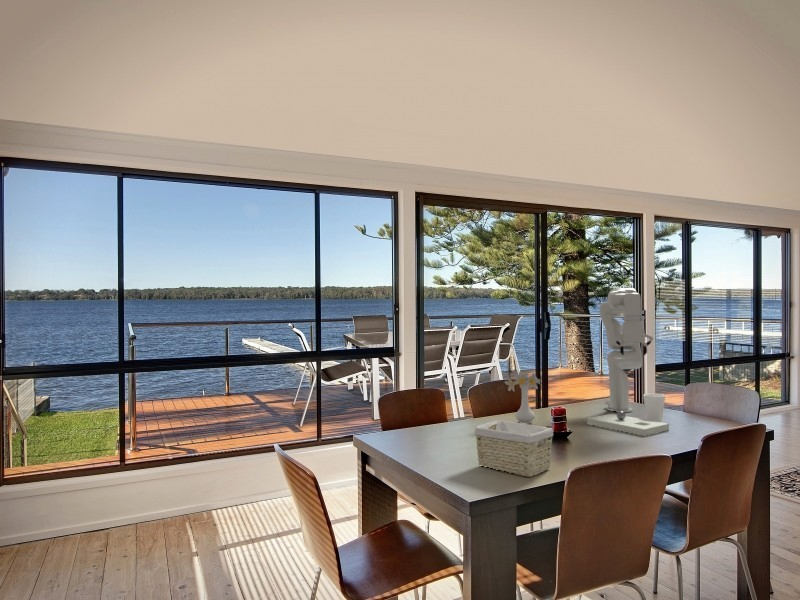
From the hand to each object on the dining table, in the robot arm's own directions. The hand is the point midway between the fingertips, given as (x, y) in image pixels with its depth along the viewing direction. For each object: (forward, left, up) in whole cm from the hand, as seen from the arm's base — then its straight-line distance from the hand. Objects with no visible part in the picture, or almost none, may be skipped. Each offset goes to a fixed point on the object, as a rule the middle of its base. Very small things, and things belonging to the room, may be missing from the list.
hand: (633, 354), depth 266 cm
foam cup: (+3, +10, -33) cm, 35 cm away
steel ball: (-1, -10, -28) cm, 29 cm away
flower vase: (-33, -40, -33) cm, 61 cm away
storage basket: (+17, -96, -33) cm, 103 cm away
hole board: (+2, -10, -33) cm, 34 cm away
